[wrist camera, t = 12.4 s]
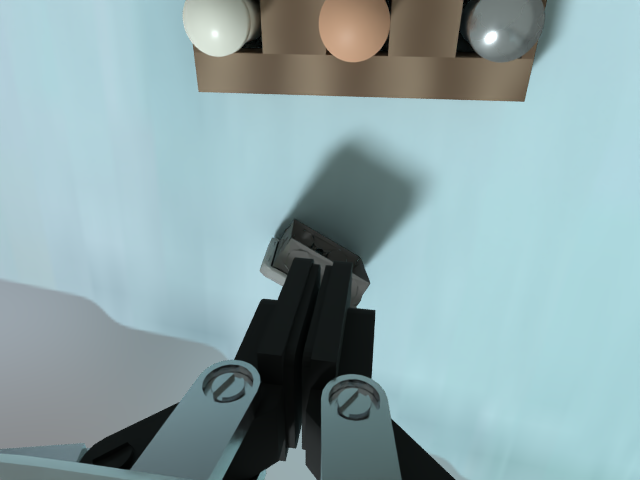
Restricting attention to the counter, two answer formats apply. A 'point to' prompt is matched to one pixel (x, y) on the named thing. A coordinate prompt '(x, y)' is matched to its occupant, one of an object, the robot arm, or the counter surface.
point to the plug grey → (502, 27)
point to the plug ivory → (222, 24)
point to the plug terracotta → (354, 28)
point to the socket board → (369, 75)
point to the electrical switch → (311, 257)
